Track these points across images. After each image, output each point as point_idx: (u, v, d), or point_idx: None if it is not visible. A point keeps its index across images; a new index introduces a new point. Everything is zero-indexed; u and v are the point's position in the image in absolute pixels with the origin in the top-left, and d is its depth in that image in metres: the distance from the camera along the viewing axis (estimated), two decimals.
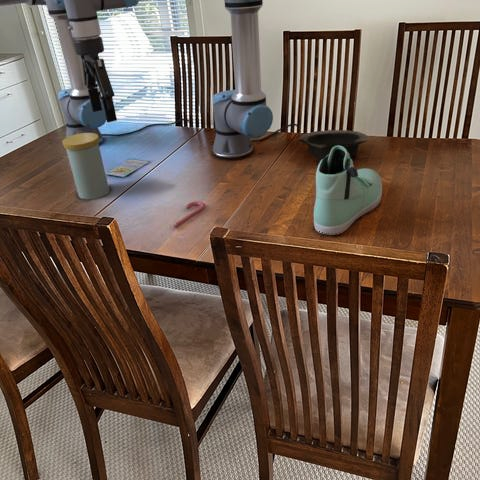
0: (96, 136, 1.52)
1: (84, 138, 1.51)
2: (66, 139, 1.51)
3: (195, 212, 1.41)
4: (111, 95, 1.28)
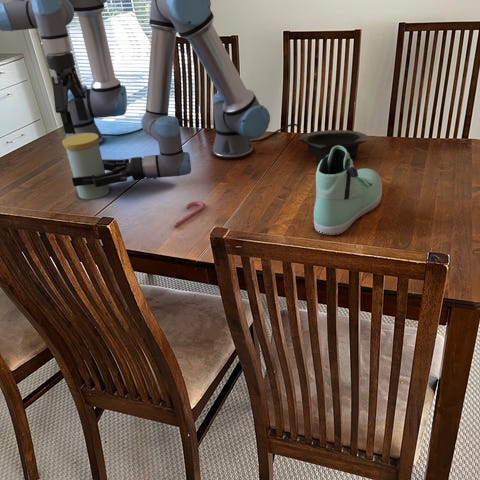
0: (96, 136, 1.52)
1: (84, 138, 1.51)
2: (66, 139, 1.51)
3: (195, 212, 1.41)
4: None
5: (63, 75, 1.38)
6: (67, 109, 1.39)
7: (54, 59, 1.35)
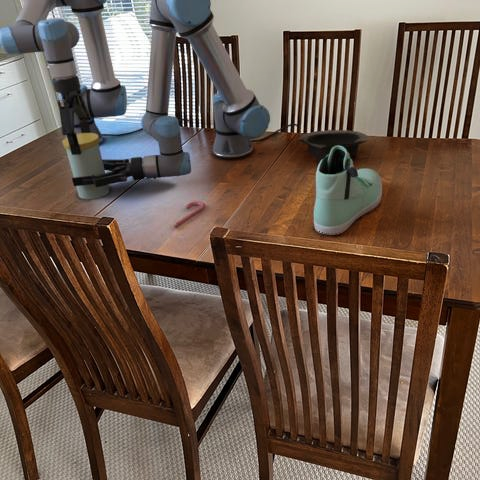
0: (96, 136, 1.52)
1: (84, 138, 1.51)
2: (66, 139, 1.51)
3: (195, 212, 1.41)
4: None
5: (69, 98, 1.41)
6: (73, 131, 1.43)
7: (60, 83, 1.39)
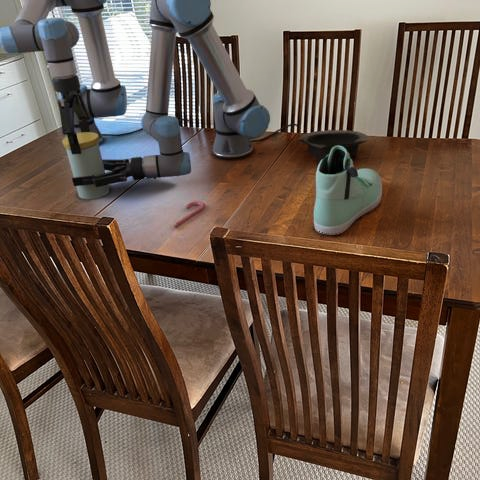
0: None
1: (78, 137, 1.52)
2: (88, 140, 1.48)
3: (195, 212, 1.41)
4: None
5: (69, 97, 1.41)
6: (74, 131, 1.43)
7: (60, 82, 1.38)
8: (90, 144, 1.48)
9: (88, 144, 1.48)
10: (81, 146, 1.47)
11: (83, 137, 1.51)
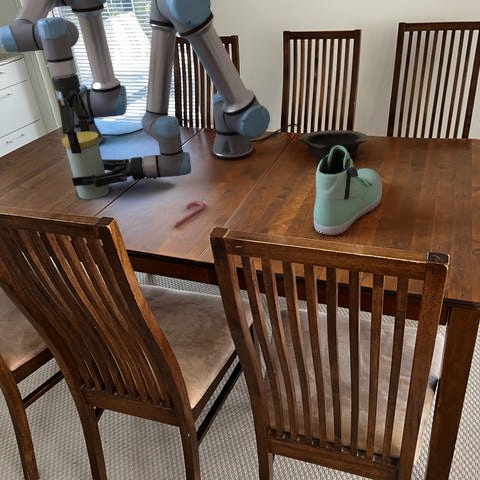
0: (81, 142, 1.47)
1: (79, 138, 1.50)
2: (82, 132, 1.55)
3: (195, 212, 1.41)
4: None
5: (69, 96, 1.41)
6: (74, 130, 1.43)
7: (60, 81, 1.38)
8: None
9: None
10: None
11: None
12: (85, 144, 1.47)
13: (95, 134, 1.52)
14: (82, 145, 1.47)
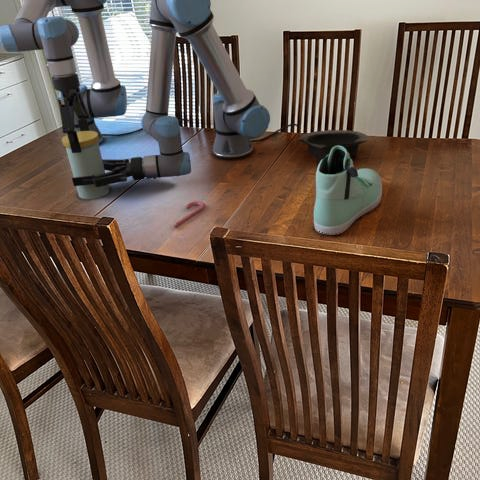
0: (89, 131, 1.55)
1: (83, 135, 1.52)
2: (68, 141, 1.48)
3: (195, 212, 1.41)
4: None
5: (69, 96, 1.41)
6: (74, 129, 1.43)
7: (60, 80, 1.38)
8: (66, 145, 1.48)
9: (65, 144, 1.48)
10: (62, 143, 1.49)
11: (80, 137, 1.50)
12: None
13: (67, 135, 1.52)
14: None
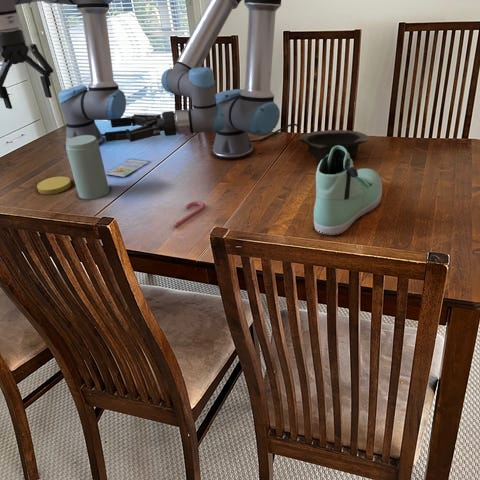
0: (38, 186, 1.64)
1: (49, 183, 1.66)
2: (66, 180, 1.67)
3: (195, 212, 1.41)
4: None
5: None
6: (42, 72, 1.53)
7: None
8: (70, 183, 1.68)
9: (70, 183, 1.67)
10: (68, 186, 1.65)
11: (55, 181, 1.67)
12: (38, 190, 1.64)
13: (56, 187, 1.62)
14: None
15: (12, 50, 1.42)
